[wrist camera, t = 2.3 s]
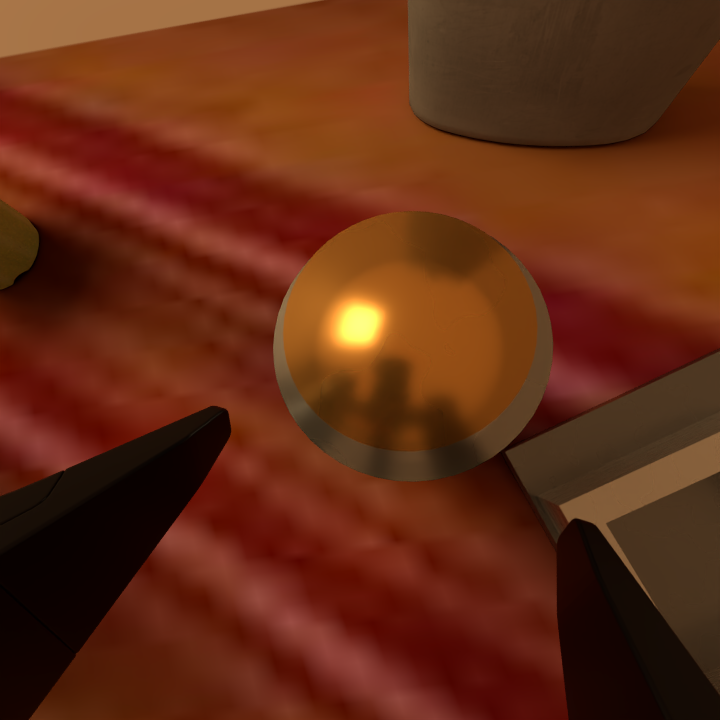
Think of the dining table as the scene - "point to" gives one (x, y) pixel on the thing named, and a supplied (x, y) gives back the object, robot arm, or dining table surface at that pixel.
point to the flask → (553, 66)
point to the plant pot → (15, 244)
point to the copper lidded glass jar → (413, 347)
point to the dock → (644, 492)
